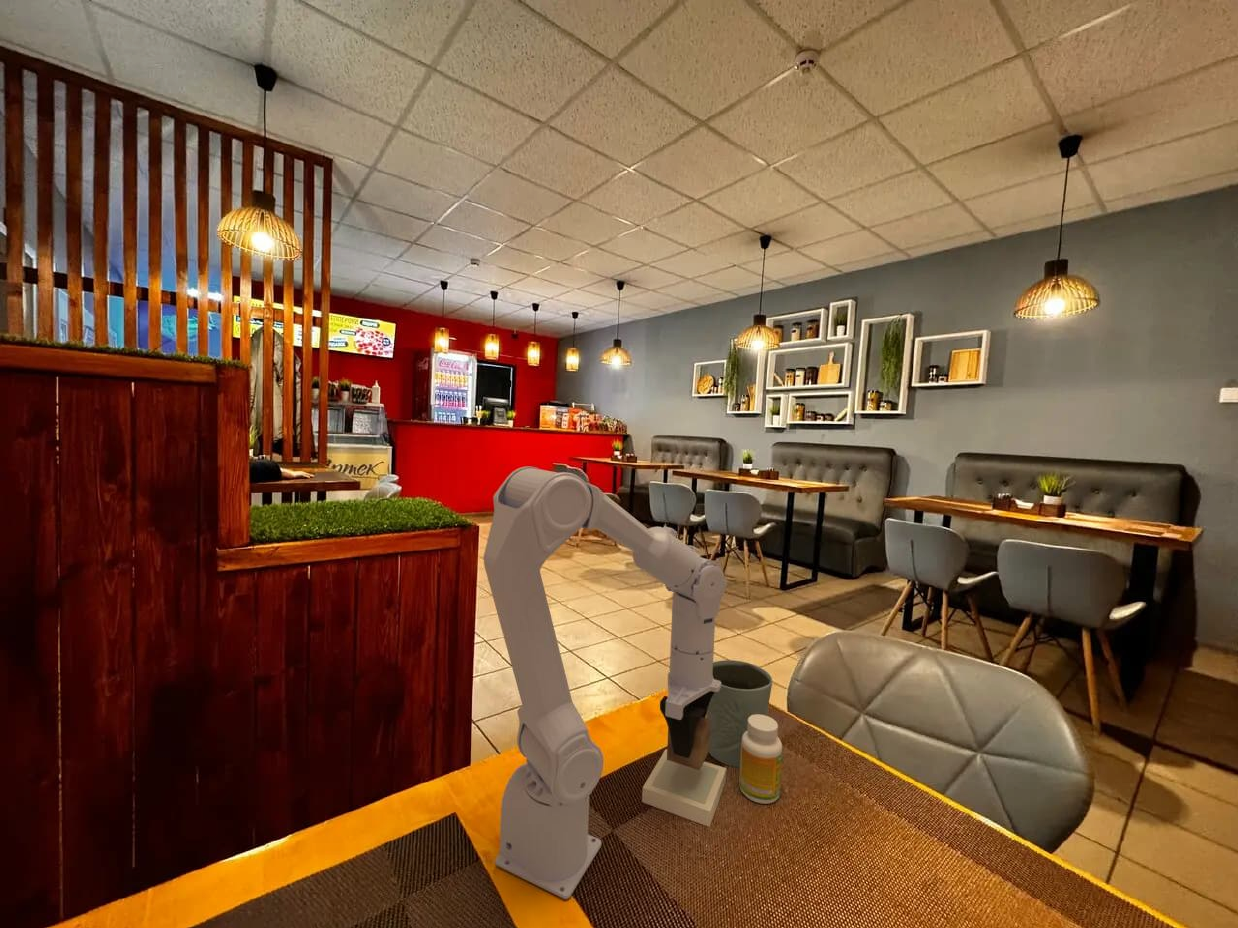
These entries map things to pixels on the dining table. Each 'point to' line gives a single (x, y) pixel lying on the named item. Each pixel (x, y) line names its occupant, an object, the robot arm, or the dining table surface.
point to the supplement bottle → (761, 760)
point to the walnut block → (698, 749)
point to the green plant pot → (735, 706)
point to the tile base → (685, 789)
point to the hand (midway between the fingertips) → (687, 743)
